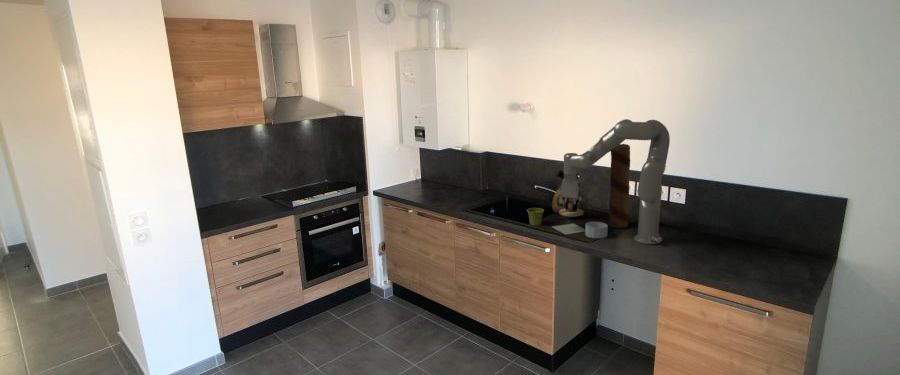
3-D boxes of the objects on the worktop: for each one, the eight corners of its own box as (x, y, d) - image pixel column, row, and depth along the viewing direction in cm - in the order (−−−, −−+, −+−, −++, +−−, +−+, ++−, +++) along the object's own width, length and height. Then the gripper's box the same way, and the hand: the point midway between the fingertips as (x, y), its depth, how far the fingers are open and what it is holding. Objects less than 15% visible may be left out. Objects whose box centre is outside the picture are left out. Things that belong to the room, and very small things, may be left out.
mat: (588, 232, 264) (588, 230, 264) (565, 235, 260) (565, 234, 260) (573, 224, 277) (573, 223, 277) (551, 228, 273) (551, 226, 273)
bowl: (611, 237, 255) (611, 226, 253) (593, 240, 251) (593, 229, 250) (598, 231, 265) (599, 220, 263) (581, 234, 261) (581, 223, 260)
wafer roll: (603, 224, 277) (607, 143, 267) (619, 221, 280) (623, 142, 270) (615, 229, 267) (619, 146, 257) (631, 226, 270) (636, 144, 260)
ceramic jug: (551, 221, 285) (552, 170, 278) (551, 213, 300) (552, 164, 293) (582, 221, 282) (584, 170, 275) (580, 214, 297) (581, 164, 290)
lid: (588, 214, 262) (588, 204, 261) (567, 217, 258) (567, 207, 257) (574, 209, 274) (574, 199, 273) (554, 212, 270) (554, 202, 269)
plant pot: (524, 226, 278) (524, 211, 276) (530, 221, 286) (530, 207, 284) (540, 228, 273) (541, 213, 271) (545, 223, 281) (546, 208, 279)
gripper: (589, 176, 259) (588, 210, 263) (561, 173, 270) (561, 206, 274) (581, 179, 253) (581, 214, 257) (553, 176, 265) (554, 209, 269)
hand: (571, 209), depth 266 cm, fingers closed on lid, 3 cm apart
